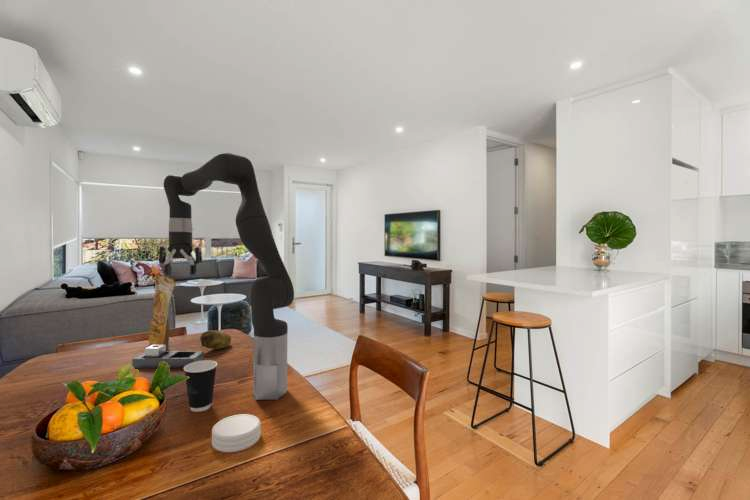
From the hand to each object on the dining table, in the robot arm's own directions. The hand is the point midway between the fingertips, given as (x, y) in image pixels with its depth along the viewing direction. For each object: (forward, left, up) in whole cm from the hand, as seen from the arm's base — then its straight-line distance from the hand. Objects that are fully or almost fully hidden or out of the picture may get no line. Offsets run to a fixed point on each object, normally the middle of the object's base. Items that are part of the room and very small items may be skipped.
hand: (180, 275), depth 128 cm
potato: (+8, -10, -30) cm, 33 cm away
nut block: (-8, +5, -30) cm, 31 cm away
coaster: (-55, -38, -30) cm, 73 cm away
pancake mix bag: (+13, +14, -30) cm, 36 cm away
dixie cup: (-40, -24, -30) cm, 56 cm away
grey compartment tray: (-8, 0, -30) cm, 31 cm away
